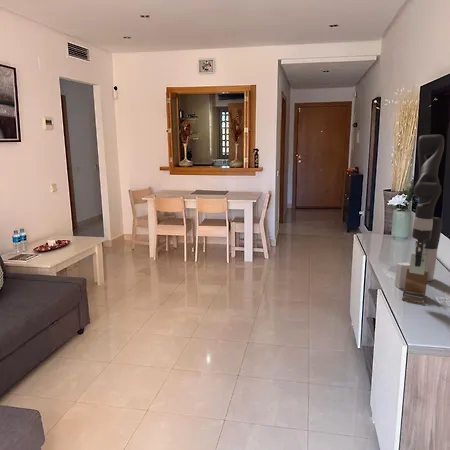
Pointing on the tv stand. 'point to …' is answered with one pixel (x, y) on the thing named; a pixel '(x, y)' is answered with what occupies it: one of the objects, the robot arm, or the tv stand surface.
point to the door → (415, 268)
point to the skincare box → (401, 274)
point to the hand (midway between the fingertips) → (417, 265)
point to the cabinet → (415, 287)
